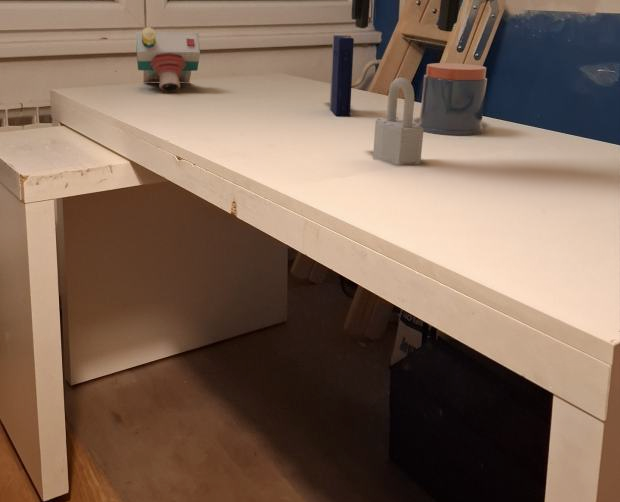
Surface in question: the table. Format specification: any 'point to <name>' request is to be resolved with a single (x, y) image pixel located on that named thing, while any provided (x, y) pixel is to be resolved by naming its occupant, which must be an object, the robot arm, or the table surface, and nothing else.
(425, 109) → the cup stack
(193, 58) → the toy camera
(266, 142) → the table surface
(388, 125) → the padlock
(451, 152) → the table surface
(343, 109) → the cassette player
